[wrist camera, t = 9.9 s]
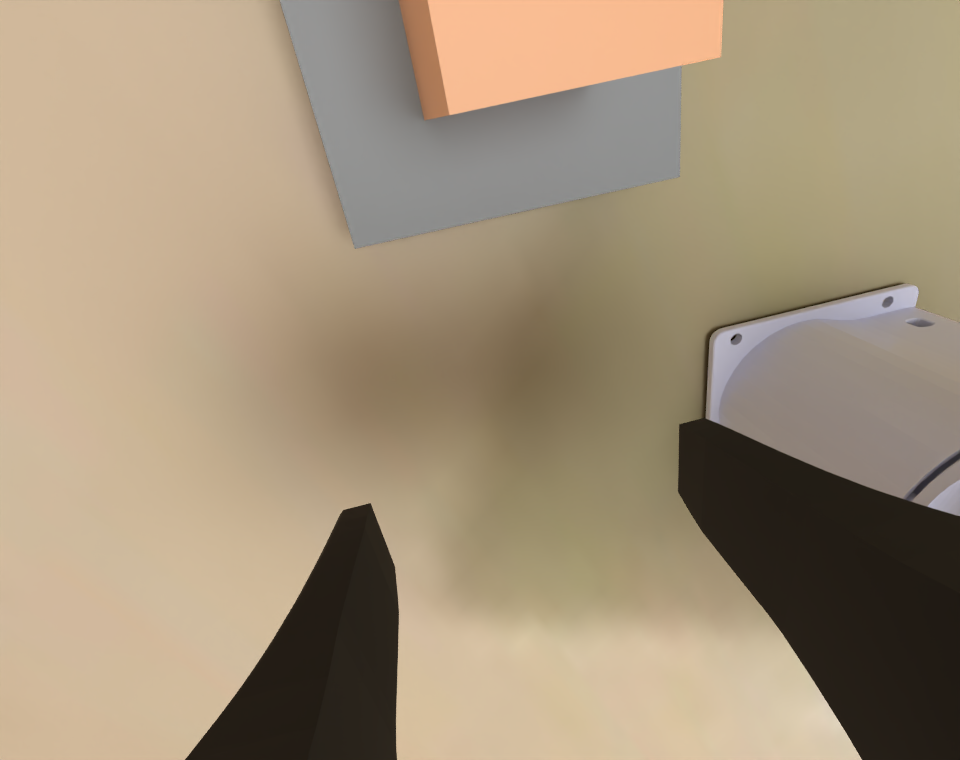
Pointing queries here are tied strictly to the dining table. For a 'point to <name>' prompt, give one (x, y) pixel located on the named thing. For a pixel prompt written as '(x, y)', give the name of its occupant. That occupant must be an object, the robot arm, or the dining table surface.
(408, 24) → the terracotta block
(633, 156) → the slate base
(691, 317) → the dining table surface
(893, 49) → the dining table surface
